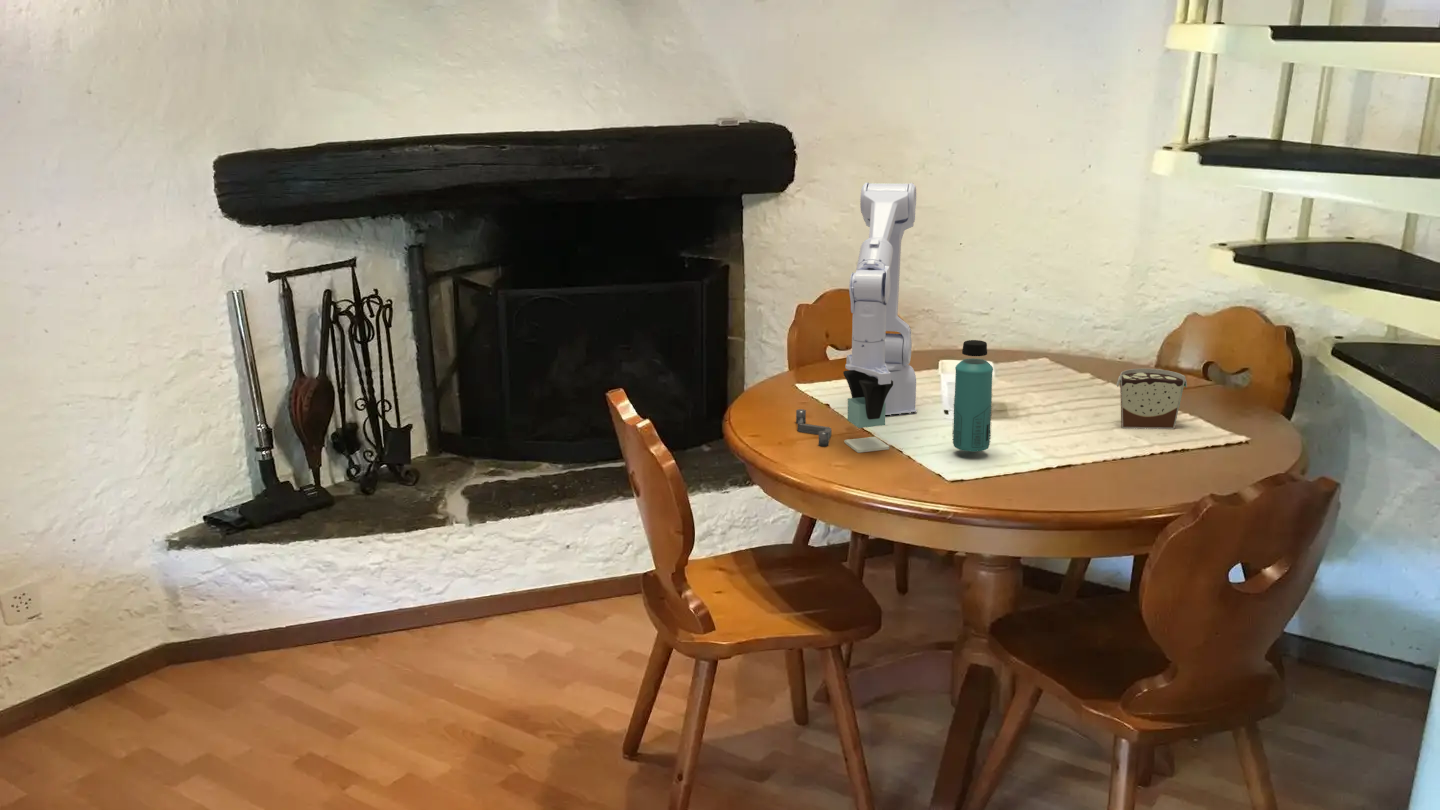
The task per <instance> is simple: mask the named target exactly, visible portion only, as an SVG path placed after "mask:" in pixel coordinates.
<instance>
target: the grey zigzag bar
mask: <svg viewBox="0 0 1440 810" xmlns="http://www.w3.org/2000/svg"><path fill="white" fill-rule="evenodd" d="M806 413H807V410H806V409H803V408H802V409H801V408H799V409H796V410H795V423H796V424H797V432H799V433H802V434H803V433H805V434H811V435H818V446H819V447H822V448H823V447H824V448H825V447H828V446H829V443H830V440H831V437H832V428H831V427H830V426H826V425H825V426H823V425H816V424H809V423H807V422H806V417H807V416H806V415H807V414H806Z"/></svg>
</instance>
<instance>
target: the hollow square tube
mask: <svg viewBox="0 0 1440 810" xmlns="http://www.w3.org/2000/svg"><path fill="white" fill-rule="evenodd" d="M885 412H886V403H885V402H884V405H883V408H882V412H881V416H880V418H879V419H868V418H867V414H866V405H865V397H858V398H852V397H849V398H847V421H848V422H849V423H851V424H853V425H854V426H855V427H857V428H858V429H862V428H872V427H882V426H886V416H885Z"/></svg>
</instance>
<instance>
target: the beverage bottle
mask: <svg viewBox="0 0 1440 810" xmlns="http://www.w3.org/2000/svg"><path fill="white" fill-rule="evenodd" d="M962 343H963V345H962V349H961V351H962V352H961V353H962V355H965V356H969V357H982V356H983V357H985V356H986V355H988V343H987V342H986V341H984V340H980V339H979V340H978V339H968V340H964V341H963V342H962ZM954 370H955V377H954V378H955V379H954V397H953V401H954V402H953V404H952V405H953V411H952V412H953V413H952V414H953V424H952V431H951V432H952V434H951V436H952V438H951V439H952V440H951V441H952V445H953V447H954V448H955V449H957V450H960V451H964V452H983V451H986V450H988V449H989V447H990V445H991V439H992V435H991V426H992V422H991V421H992V419H993V418H992V412H993V407H992V403H993V399H992V398H993V395H994V394H993V371H994V367H993V366H992V364H991V363H989V362H988V361H987V360H986V359H984V358H983V359H982V358H964V359H962V360H961V361H959V363H957V364H956V365H955V369H954Z"/></svg>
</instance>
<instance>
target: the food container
mask: <svg viewBox="0 0 1440 810" xmlns="http://www.w3.org/2000/svg"><path fill="white" fill-rule="evenodd" d="M1187 382H1188V381H1187V378H1186V376H1185V375H1184V374H1181V373H1179V372H1175V371H1172V370H1171V371H1170V370H1165V369H1157V368H1131V369H1125V370H1123V371H1121V372H1120V375H1119V376H1118V379H1117V382H1116V387H1117V388H1118V387H1120V388H1119V391H1120V427H1121V429H1134V428H1135V429H1136V428H1137V429H1138V430H1139V429H1143V430H1144V429H1145V428H1146V430H1147V428H1148V430H1151V429H1152V430H1156V429H1157V428H1158V429H1157V430H1175V429H1176V424H1177V423H1176V422H1177V419H1178V414H1179V409H1180V405H1181V400H1182V395H1183V392H1184V388H1188V383H1187ZM1119 385H1120V386H1119Z"/></svg>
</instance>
